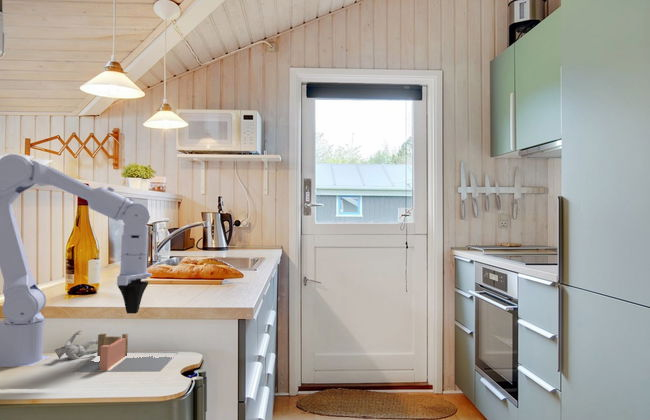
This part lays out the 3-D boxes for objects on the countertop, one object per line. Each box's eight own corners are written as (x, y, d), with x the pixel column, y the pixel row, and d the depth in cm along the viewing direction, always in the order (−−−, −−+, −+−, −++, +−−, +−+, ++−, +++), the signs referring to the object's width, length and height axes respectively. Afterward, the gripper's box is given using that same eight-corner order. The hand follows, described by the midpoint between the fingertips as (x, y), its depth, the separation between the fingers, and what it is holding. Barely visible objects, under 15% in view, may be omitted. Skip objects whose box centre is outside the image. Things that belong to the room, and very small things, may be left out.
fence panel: (119, 356, 98) (120, 335, 98) (126, 356, 98) (126, 335, 98) (99, 369, 88) (100, 346, 89) (107, 369, 88) (107, 346, 89)
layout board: (72, 374, 87) (72, 371, 88) (102, 355, 101) (102, 352, 101) (160, 374, 89) (160, 370, 89) (178, 354, 103) (178, 351, 103)
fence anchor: (97, 356, 98) (98, 334, 98) (99, 355, 99) (100, 333, 99) (126, 356, 98) (126, 334, 99) (128, 355, 100) (128, 333, 100)
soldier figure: (114, 357, 104) (81, 354, 93) (97, 371, 103) (62, 369, 92) (100, 331, 107) (65, 325, 96) (83, 345, 106) (46, 340, 95)
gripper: (141, 256, 97) (139, 319, 96) (160, 253, 112) (159, 307, 111) (108, 256, 97) (105, 319, 96) (132, 252, 111) (130, 307, 110)
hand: (132, 313), depth 103 cm, fingers closed
